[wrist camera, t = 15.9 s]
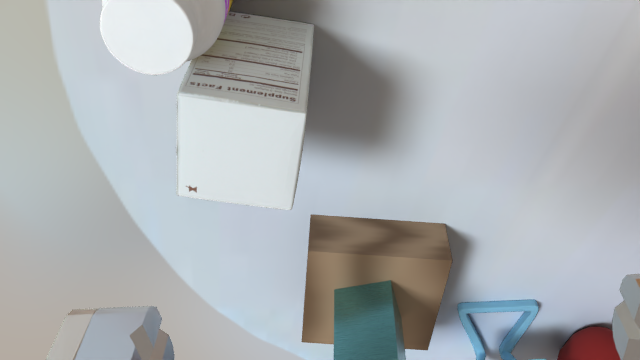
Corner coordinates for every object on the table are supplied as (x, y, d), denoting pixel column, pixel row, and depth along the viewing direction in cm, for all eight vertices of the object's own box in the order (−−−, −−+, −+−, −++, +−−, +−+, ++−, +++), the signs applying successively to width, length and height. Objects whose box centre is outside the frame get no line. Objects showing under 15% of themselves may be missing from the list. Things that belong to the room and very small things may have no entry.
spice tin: (390, 280, 52) (397, 358, 46) (401, 317, 55) (409, 395, 49) (334, 289, 53) (333, 367, 46) (347, 325, 56) (348, 404, 49)
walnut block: (444, 220, 54) (452, 260, 50) (422, 309, 62) (427, 350, 58) (311, 211, 54) (308, 250, 50) (304, 301, 61) (301, 342, 57)
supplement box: (303, 110, 47) (292, 215, 37) (208, 95, 47) (171, 199, 37) (317, 21, 43) (310, 114, 33) (213, 4, 42) (172, 93, 32)
